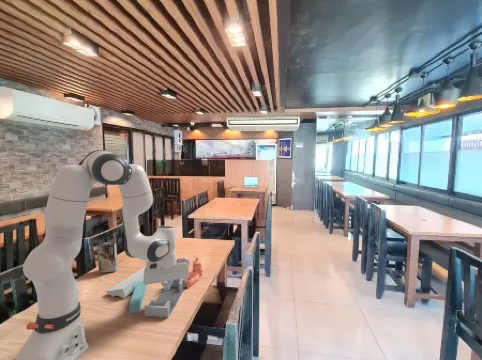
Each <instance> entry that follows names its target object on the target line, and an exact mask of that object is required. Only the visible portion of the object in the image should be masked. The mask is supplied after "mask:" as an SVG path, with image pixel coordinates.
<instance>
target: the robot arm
mask: <svg viewBox="0 0 482 360" xmlns="http://www.w3.org/2000/svg"><path fill="white" fill-rule="evenodd" d="M97 183H99V184H102V185H107V186H117V187H118V188H119V192H120V196H121V201H122V206H121V211H120V213H121V220H122V221H121V223H122V227H123V228H122V229H123V234H124V245H123V251H124V253H125V255H126V256H127V257H129V258H132V259H139V260H142V261H145V266H146V267H145V266H144V267H145V269H144V276H143V283H144V284H145V285H146V286H147V285H153V284H158V283H160V284H161V286H162V287H163V289H164V291H165V290H170V286H171V285H172V283H173V280H177V279H185V278H187V279H189V278H188V277H189V272H190V269H189V266H190V260H189V258H187V257H183V258H181V257H180V258H177V249H176V248H177V233H176V229H175V227H173V226H171V225H159V226H157V228H156V230H155V232H154V233H153V235H151V236H147V235H144V234H143V233H141V231H140V224H139V223H140V222H139V215H141V214H143V213H145V212H147V211H148V210H149V209H150V208H151V207H152V205H153V203H154V196H153V191H152V187H151V183H150V181H149V178H148V175H147V172H146V171H145V169H144V167H143V166H141V165H140V164H136V163H130V164H128V163H127V162H126V160H124V159H123V158H122V156H120V155H117V154H116V153H115V152H112V151H109V150H104V149H95V150H93V151H91V152H89V153H88V154H87V155H86V156H85V157H84V158H83V159H82V160H81V161H80V162H79V163H78V164H64V165H63V166H61V167H60V168H59V169H58V171H57V173H56V175H55V177H54V180H53V182H52V185H51V187H50V190H49V193H48V199H47V202H46V208H45V211H44V215H43V221H44V223H45V236H44V238H43V241H42V242H41V243H40V244H39V245H38V246H36V247H35V248H33V249H32V250H31V251H30V253H29V254H28V255H27V257H26V259H25V260H24V261H23V266H22V271H23V274H24V276H25V277H26V278H27V279H28V280H29V281H32V283H33V285H34V288H35V292H36V295H37V311H38V313H37V315H36V318H35V322H33V321H30V322H28V323H27V324H26V327H25V328H26V330H32V332H31V333H30V335H29V336H28V338H27V340H26V341H25V343H24V344H23V345H22V347H21V348H20V350H18V352H17V354H16V356H15V360H77V359H78V358H79V357H80V356H81V355H83V354H84V353H86V351H87V350H88V349H89V343H88V342H87V338H86V336H85V335H86V334H85V329H84V324H83V321H82V319H81V312H82V311H81V309H82V308H81V307H82V306H81V303H80V301H79V285H78V284H79V283H78V281H77V279H75V276H74V273H73V267H72V266H73V262H74V260H75V259H76V258H77V256H78V255H79V254H80V251H81V248H82V245H83V244H82V242H83V241H82V240H83V233H84V222H85V218H86V217H85V216H86V213H87V208H88V205H89V200H90V194H91V191H92V189H93V188H94V186H95V185H96V184H97ZM166 281H169V282H170V283H169V285H165V282H166Z"/></svg>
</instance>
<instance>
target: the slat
mask: <svg viewBox="0 0 482 360" xmlns="http://www.w3.org/2000/svg"><path fill="white" fill-rule="evenodd" d="M146 291H147V285H145V284H144V283H143V281H138V282H137V284H136V287H135V290H134V292H133V293H132V295H131V299H130V301H129V304H128V309H129V310H128V311H129V314H138V313H140V312H141V310H142V309H141V308H142V305H143V302H144V298H145V296H146Z"/></svg>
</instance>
